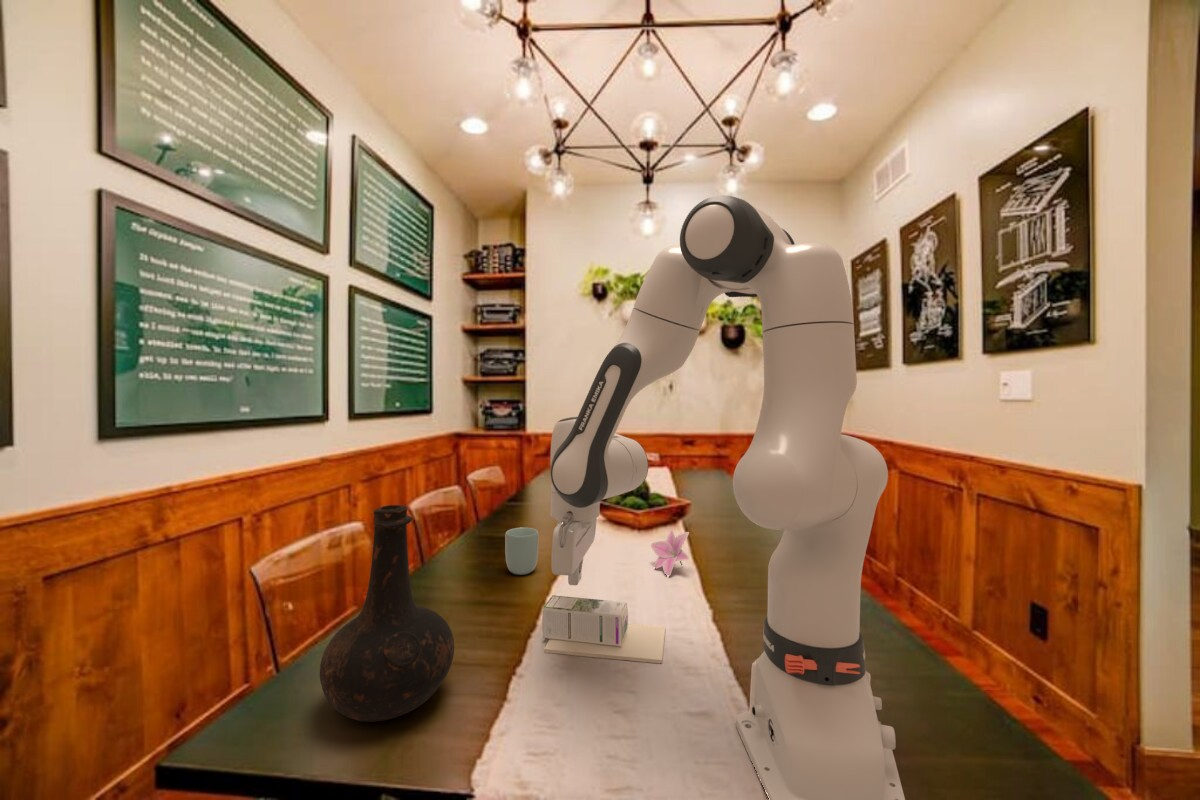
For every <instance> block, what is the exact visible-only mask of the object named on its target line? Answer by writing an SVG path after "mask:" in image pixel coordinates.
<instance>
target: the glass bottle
mask: <svg viewBox="0 0 1200 800" xmlns="http://www.w3.org/2000/svg"><path fill="white" fill-rule="evenodd" d="M407 512H408V507H407V506H406V505H401V504H389V505H383V506H380V507H378V508H376V509H373V517H374V518H373V522H374V523H373V527H374V528H373V529H374V530H373V544H372V545H373V546H372V554H371V555H372V557H371V566H370V573H369V574H370V575H369V582H368V586H367V590H366V591H367V592H366V595H365V596H366V597H365V600H364V602H363V606H362V609H361V611H360V613H359V614H358V615H357V616H355V618H353V619H351V620H350V621H348V622H347V623H345V625H343V626H342V627H341V628H340V629H339V630H338V631H337V632H336V633H335V634H334V635H333V637H332V638H330V640H329V641H328V643H327V645H326V647H325V649H324V651H323V653H322V657H321V661H320V664H319V680H320V685H321V689H322V692H323V695H324V697H325V698H326V700H327V702H328V703H329V704H330V706H331V707H332V708H333V709H335V710H336V711H337V712H338V713H340V715H342V716H344V717H346V718H349V719H351V720H355V721H359V722H373V723H374V722H381V721H382V722H384V721H388V720H392V719H395V718H396V719H397V718H398V717H401V716H404V715H406V714H408V713H410V712H412V711H414V710H416V709H417V708H419V707H420V706H421V705H423V704H425V703H426V702H427V701H428V700H429V699H430V698H431V697H432V696H433V695H434V694H435V693H436V692H437V690H438V689H439V688H440V686H441V685H442V684H443V683H444V681H445V679H446V677H447V675H448V673H449V672H450V669H451V666H452V663H453V659H454V656H455V639H454V636H453V632H452V629H451V627H450V625H449V624H448V622H447V621H446V619H444V618H443V617H442V616H441V615H440V614H438V613H437V612H435V610H432V609H430V608H428V607H423V606H419V605H417V604H416V602H415V599H414V596H413V591H412V586H411V584H412V583H411V577H410V567H409V553H408V534H407V525H408V524H409V523H411V522H412V521H413V520H414V519H413V517H412V516H410V515H407Z"/></svg>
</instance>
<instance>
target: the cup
mask: <svg viewBox="0 0 1200 800" xmlns="http://www.w3.org/2000/svg"><path fill="white" fill-rule="evenodd" d="M504 535H505V536H504V537H505V538H504V540H505V541H504V543H505V545H504V546H505V547H504V551H505V552H504V553H505V555H504V556H505V562H506V566H507V567H506V568H507V569H508V570H509V572H510V573H512V574H514V575H517V576H523V575H528V574H530V573H532V572H533V571H535V569H536V566H537V564H538V559H539V558H538V557H539V531H538V529H536V528H533V527H526V526H525V527H515V528H510V529H508V530H506V532H505V534H504Z"/></svg>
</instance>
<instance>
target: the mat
mask: <svg viewBox="0 0 1200 800" xmlns="http://www.w3.org/2000/svg"><path fill="white" fill-rule="evenodd" d="M665 637H666V626H663V625H652V624H651V625H650V624H649V625H648V624H640V623H639V624H638V623H628V627H627V632H626V635H625V638H624V641H623V644H622V646H613V645H604V644H595V643H585V642H576V641H567V640H558V639H549V638H548V641H547V643H546V645H545V647H544V648H543V652H544V653H545V654H546V653H547V654H548V653H549V654H555V655H556V654H558V655H567V656H578V657H588V658H600V659H608V660H609V659H610V660H621V661H631V662H638V663H639V662H643V663H653V664H660V663H661V664H663V658H664V657H663V656H664V646H665ZM661 664H660V665H661Z"/></svg>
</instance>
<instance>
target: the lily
mask: <svg viewBox="0 0 1200 800" xmlns="http://www.w3.org/2000/svg"><path fill="white" fill-rule="evenodd" d="M689 535H690V532H689V531H686V532H683V533H681V534H678V535H677V536H676V535H675V533H674V531H673V529H670V531H669V532H668V534H667V536H666V541H665V540H659V541H658V540H657V541H655V542H652V543H651V544H650V548H651V549H652V551H653V553H655V555H656V556H657V557H658V558H657V559H656V561H655V563H654V565H653V567H655V568H656V569H655V570H657V569H659V568H661V567H662V570H663V573H664V575H665V574H666V575H669V576H671V574H672V572H673V568H674V566H675V563H676V562H679V563H680V564H681V565H680V566H682V565H683V561H688V560H689V559H690V558H689V556H688V555H687V554H686V552H685V551H684V550H683V549H682V548H683V546H684V544H685V542H686V540H687V538H688V536H689ZM653 567H652V568H653ZM666 575H665V576H666Z"/></svg>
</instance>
